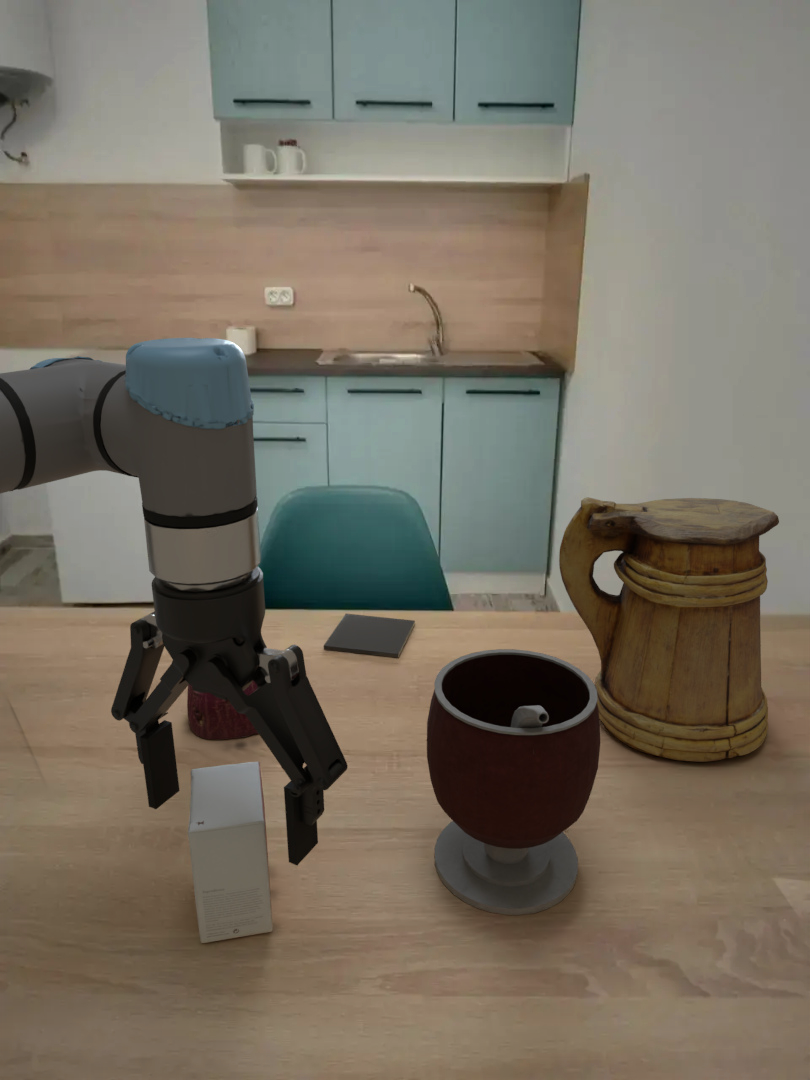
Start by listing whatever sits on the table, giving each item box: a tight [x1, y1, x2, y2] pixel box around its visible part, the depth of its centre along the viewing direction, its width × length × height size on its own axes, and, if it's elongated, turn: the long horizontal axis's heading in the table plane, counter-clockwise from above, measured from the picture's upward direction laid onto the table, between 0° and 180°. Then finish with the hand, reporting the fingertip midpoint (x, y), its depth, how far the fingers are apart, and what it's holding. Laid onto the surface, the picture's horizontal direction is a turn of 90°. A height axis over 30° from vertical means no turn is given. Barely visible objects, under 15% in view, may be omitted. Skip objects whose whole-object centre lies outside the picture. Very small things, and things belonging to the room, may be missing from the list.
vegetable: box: [186, 680, 259, 741], centre depth 90 cm, size 10×10×15 cm
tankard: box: [558, 497, 780, 763], centre depth 89 cm, size 18×24×25 cm
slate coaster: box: [323, 613, 416, 659], centre depth 111 cm, size 10×10×1 cm
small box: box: [187, 761, 274, 944], centre depth 65 cm, size 8×6×10 cm
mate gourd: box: [426, 648, 601, 916], centre depth 67 cm, size 16×14×20 cm
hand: (230, 824), depth 64 cm, fingers open, 13 cm apart
